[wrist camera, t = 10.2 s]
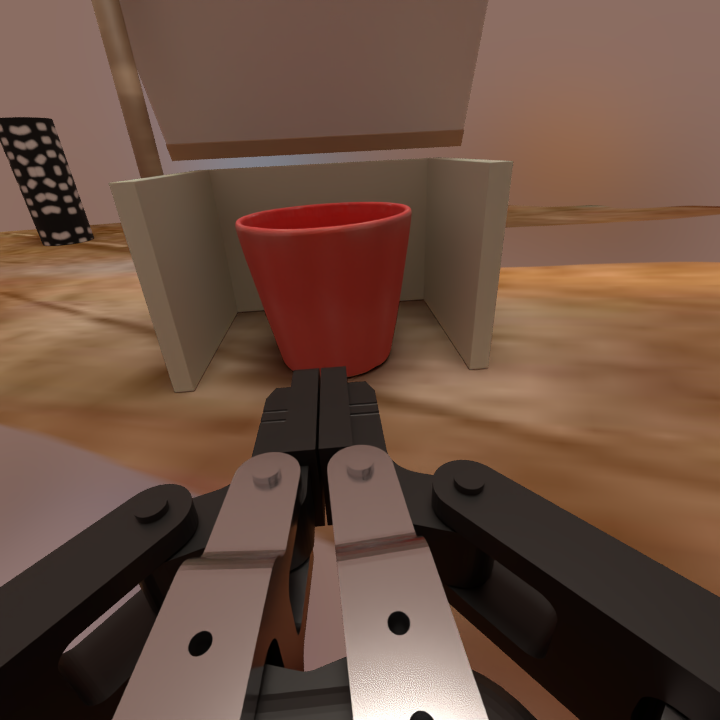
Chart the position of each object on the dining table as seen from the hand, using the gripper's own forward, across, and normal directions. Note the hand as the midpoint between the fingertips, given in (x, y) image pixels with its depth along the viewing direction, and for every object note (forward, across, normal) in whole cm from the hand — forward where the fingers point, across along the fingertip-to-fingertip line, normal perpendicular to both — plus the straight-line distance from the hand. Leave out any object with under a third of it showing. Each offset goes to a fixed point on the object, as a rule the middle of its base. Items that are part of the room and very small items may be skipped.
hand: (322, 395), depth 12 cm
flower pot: (+16, 0, +7) cm, 17 cm away
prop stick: (+20, +11, +7) cm, 24 cm away
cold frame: (+19, 0, +6) cm, 20 cm away
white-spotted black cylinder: (+72, +50, +7) cm, 88 cm away
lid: (+23, 0, -13) cm, 26 cm away
